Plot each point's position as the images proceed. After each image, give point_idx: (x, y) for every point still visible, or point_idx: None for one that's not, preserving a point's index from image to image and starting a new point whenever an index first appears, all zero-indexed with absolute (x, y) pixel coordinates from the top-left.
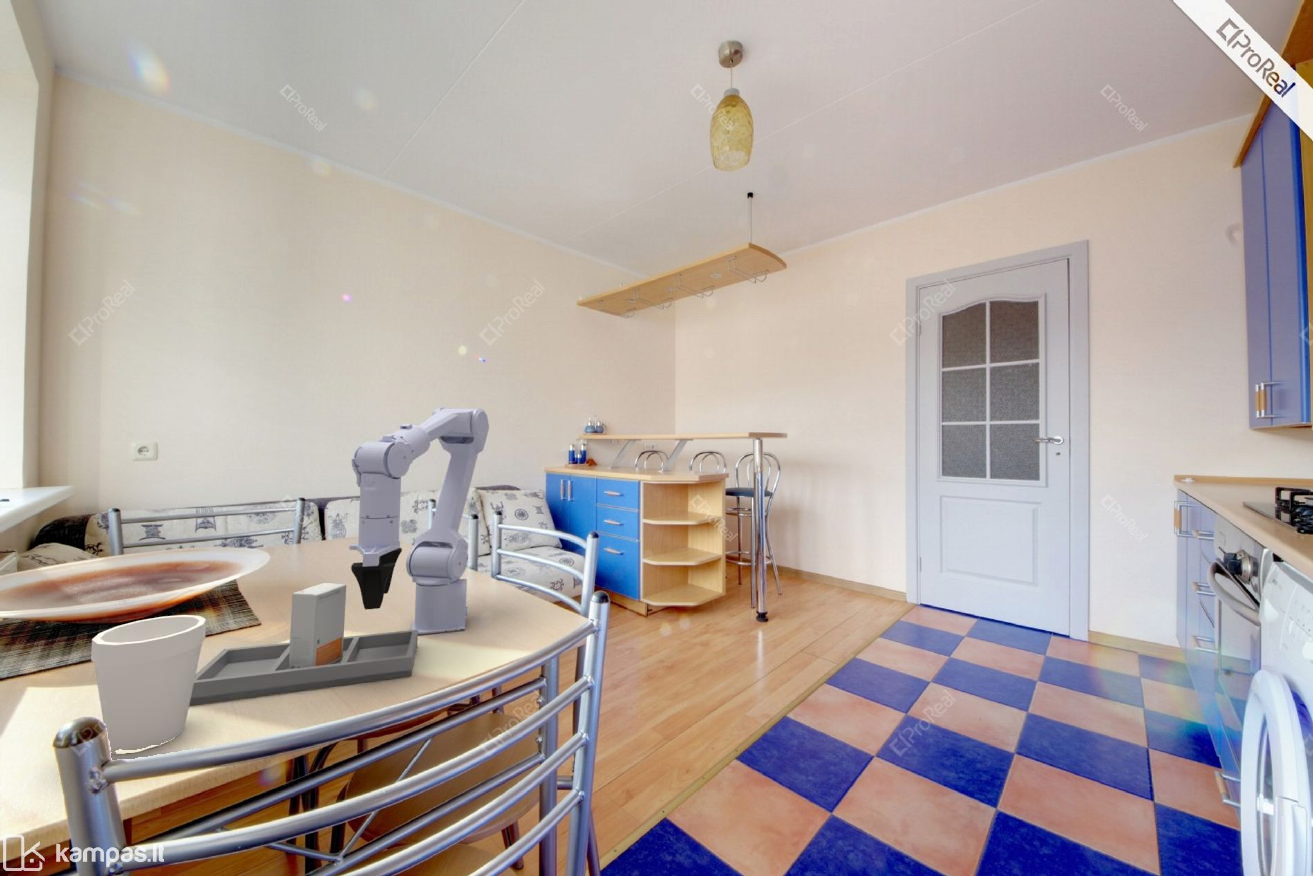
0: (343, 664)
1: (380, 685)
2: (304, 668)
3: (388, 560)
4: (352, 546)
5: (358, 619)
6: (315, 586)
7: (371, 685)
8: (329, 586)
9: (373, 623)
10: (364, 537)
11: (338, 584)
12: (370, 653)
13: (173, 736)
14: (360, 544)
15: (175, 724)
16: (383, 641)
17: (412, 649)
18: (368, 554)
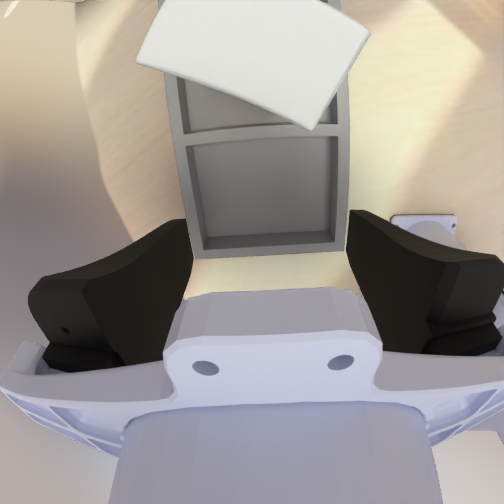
0: (175, 144)
1: (176, 200)
2: (169, 74)
3: (391, 341)
4: (169, 362)
5: (496, 120)
6: (294, 2)
7: (178, 186)
8: (280, 62)
9: (474, 144)
10: (111, 502)
11: (318, 95)
12: (297, 160)
13: (77, 1)
14: (143, 432)
15: (66, 1)
16: (333, 182)
17: (230, 256)
18: (11, 396)
